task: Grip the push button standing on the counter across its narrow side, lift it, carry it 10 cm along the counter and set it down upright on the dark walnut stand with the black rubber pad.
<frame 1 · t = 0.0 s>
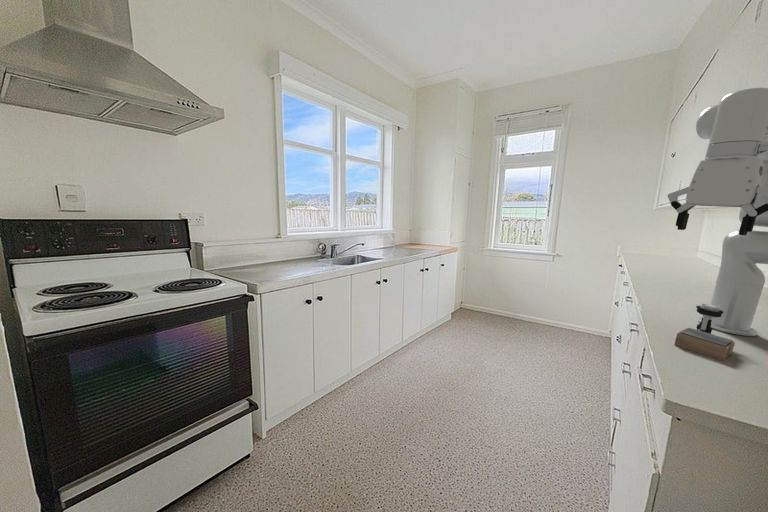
hand: (709, 232, 67), 31 cm above the table, tool pointing down, fingers open, 9 cm apart
stand: (702, 349, 78), on the table
push button: (700, 339, 86), on the table
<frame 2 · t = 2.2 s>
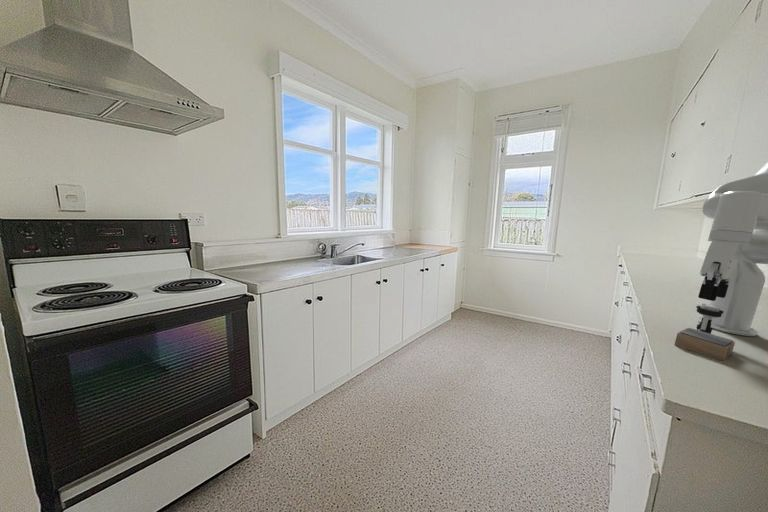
hand: (711, 297, 83), 12 cm above the table, tool pointing down, fingers open, 9 cm apart
nothing on the table moved.
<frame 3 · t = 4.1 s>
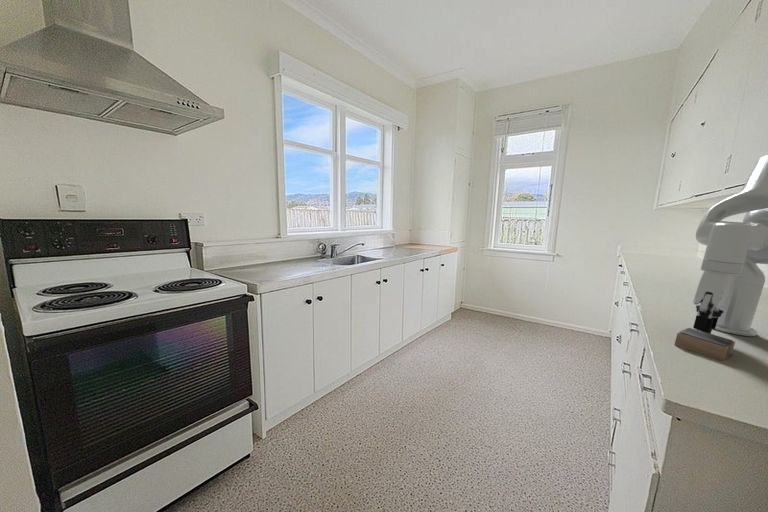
hand: (704, 328, 85), 3 cm above the table, tool pointing down, fingers closed on push button, 4 cm apart
push button: (700, 338, 86), on the table, touching gripper
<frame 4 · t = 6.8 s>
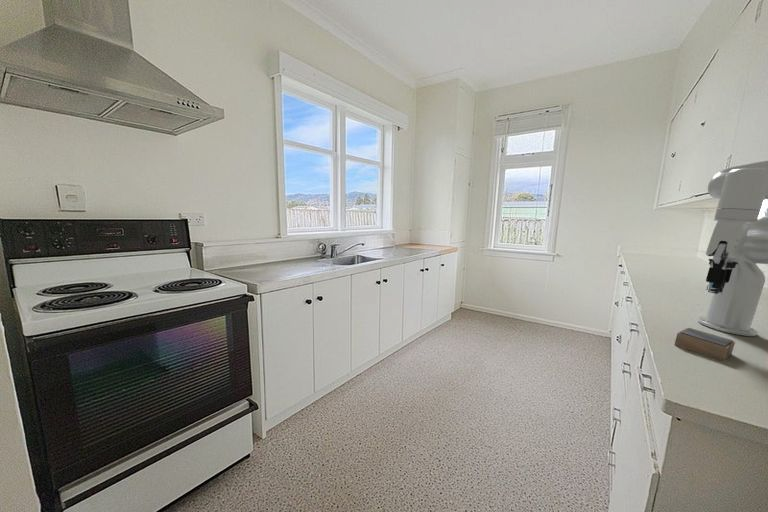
hand: (717, 281, 82), 17 cm above the table, tool pointing down, fingers closed on push button, 4 cm apart
push button: (713, 293, 82), point 14 cm above the table, touching gripper
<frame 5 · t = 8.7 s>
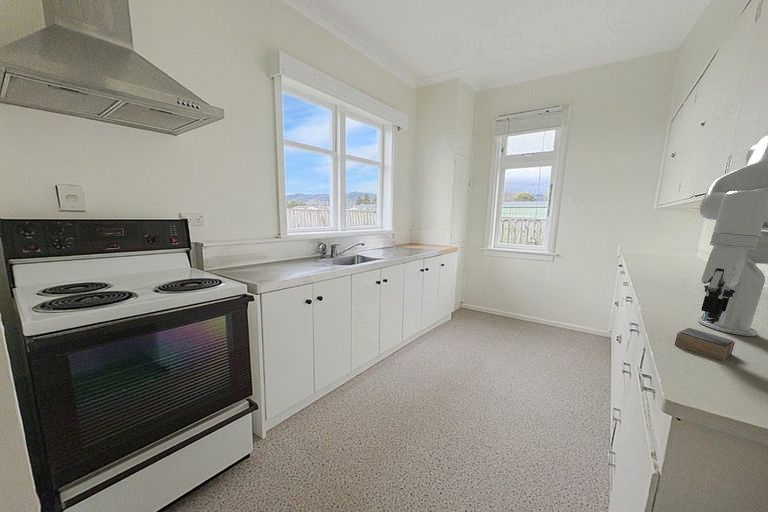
hand: (713, 310, 76), 11 cm above the table, tool pointing down, fingers closed on push button, 4 cm apart
push button: (709, 322, 77), point 8 cm above the table, touching gripper
when the fingers open (9 cm above the table, at t = 9.9 s): push button drops 2 cm, resting on stand.
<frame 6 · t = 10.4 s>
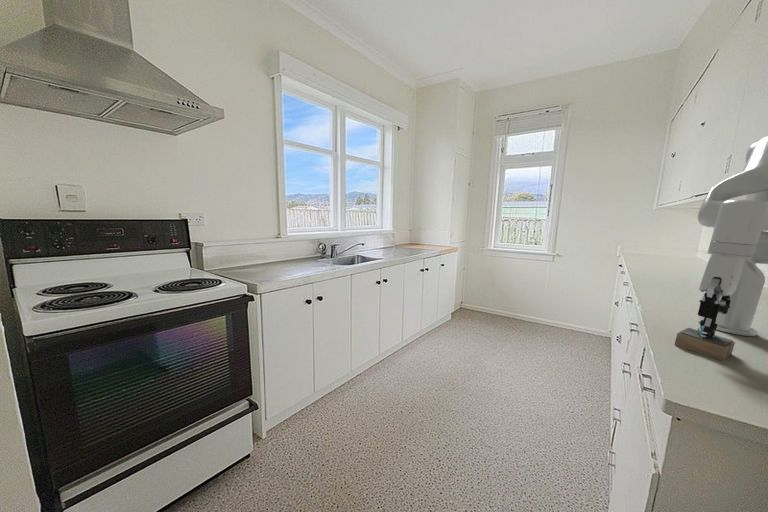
hand: (712, 314, 77), 10 cm above the table, tool pointing down, fingers open, 9 cm apart
push button: (704, 336, 78), point 4 cm above the table, touching stand
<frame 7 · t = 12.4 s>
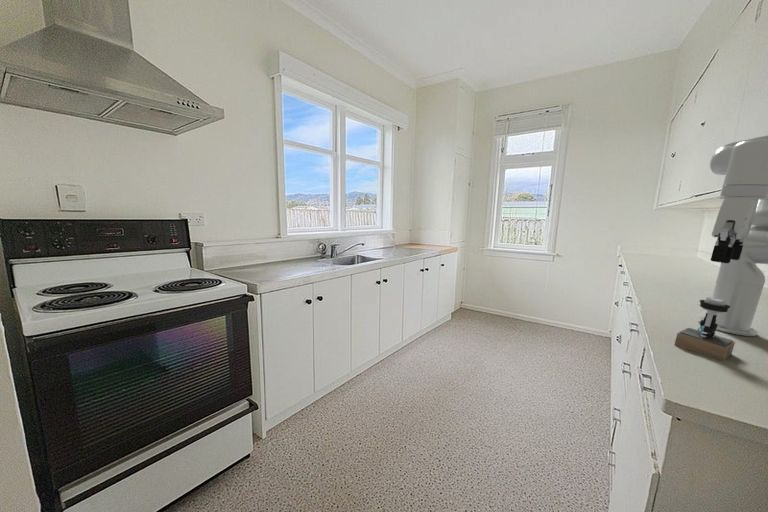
hand: (724, 260, 76), 24 cm above the table, tool pointing down, fingers open, 9 cm apart
nothing on the table moved.
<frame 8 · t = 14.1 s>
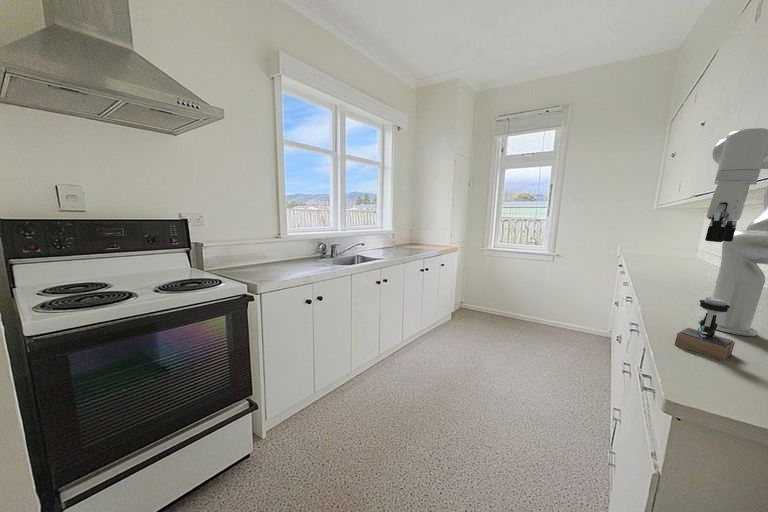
hand: (718, 241, 83), 28 cm above the table, tool pointing down, fingers open, 9 cm apart
nothing on the table moved.
at the end: push button 0.4 cm off-centre on the stand, point 3.6 cm above the stand's base; push button tilted 0°; the gripper is holding nothing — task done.
